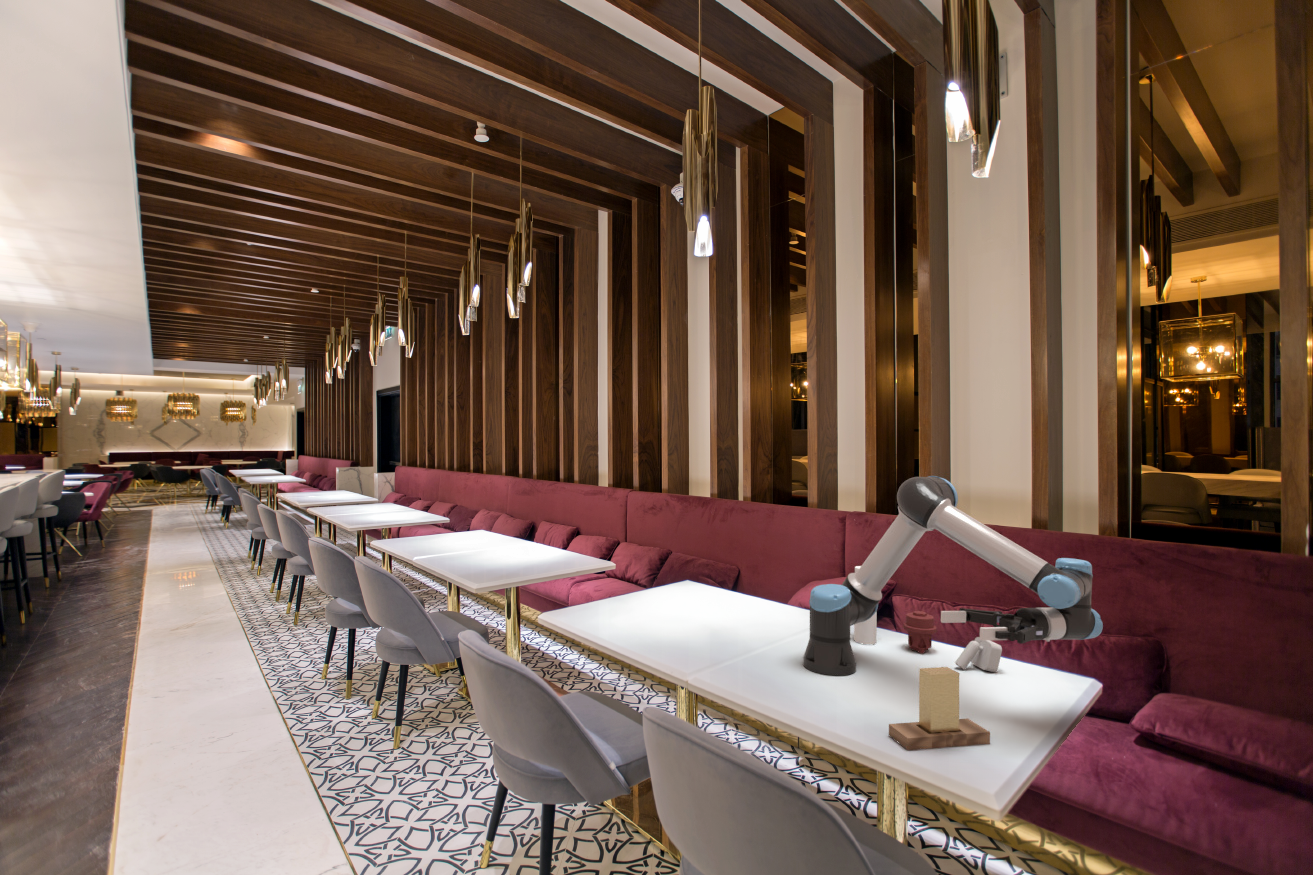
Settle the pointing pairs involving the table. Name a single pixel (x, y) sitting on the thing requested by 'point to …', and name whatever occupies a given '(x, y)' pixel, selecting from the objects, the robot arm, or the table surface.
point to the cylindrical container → (866, 628)
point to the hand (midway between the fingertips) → (960, 624)
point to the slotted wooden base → (938, 735)
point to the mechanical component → (919, 630)
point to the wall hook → (981, 655)
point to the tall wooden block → (938, 700)
